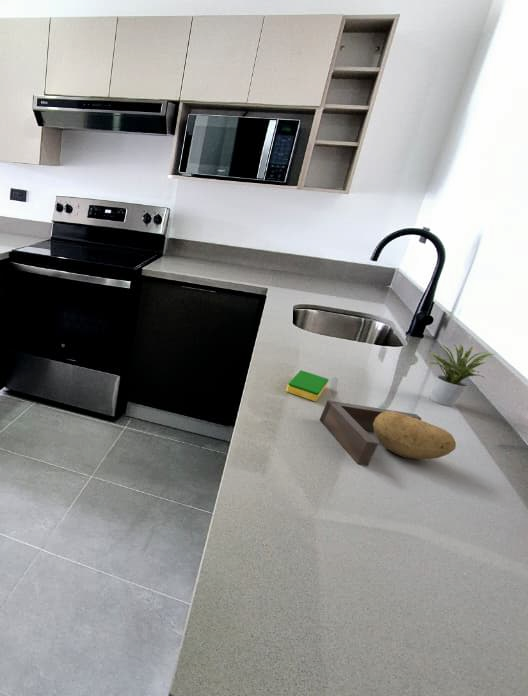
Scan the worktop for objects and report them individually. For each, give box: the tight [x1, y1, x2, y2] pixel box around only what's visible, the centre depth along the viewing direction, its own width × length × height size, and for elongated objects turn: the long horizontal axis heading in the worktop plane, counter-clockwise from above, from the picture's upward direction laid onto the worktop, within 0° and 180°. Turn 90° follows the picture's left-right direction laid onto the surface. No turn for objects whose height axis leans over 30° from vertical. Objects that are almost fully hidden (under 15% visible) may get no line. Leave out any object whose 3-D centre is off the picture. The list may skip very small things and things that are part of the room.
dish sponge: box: [285, 369, 329, 402], centre depth 128 cm, size 7×14×2 cm, turn 143°
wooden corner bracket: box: [319, 399, 422, 466], centre depth 103 cm, size 20×18×5 cm
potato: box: [373, 410, 457, 460], centre depth 101 cm, size 10×14×8 cm
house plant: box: [426, 341, 495, 407], centre depth 131 cm, size 14×14×16 cm
